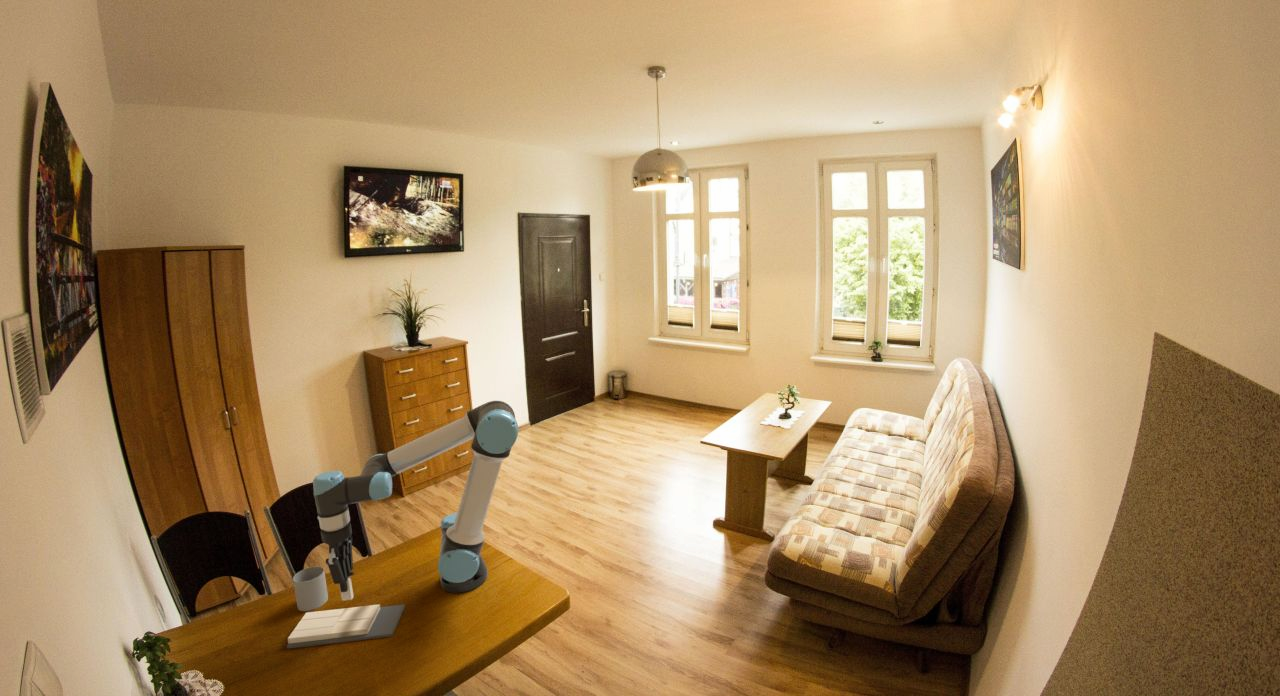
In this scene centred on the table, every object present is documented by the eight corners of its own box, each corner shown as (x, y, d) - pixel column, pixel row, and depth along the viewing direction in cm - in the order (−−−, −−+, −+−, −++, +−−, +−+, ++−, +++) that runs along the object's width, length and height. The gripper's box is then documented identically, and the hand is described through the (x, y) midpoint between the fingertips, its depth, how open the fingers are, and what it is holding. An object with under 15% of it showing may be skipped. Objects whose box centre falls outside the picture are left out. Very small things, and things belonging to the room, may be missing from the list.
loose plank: (380, 608, 161) (379, 603, 161) (367, 633, 151) (366, 628, 150) (345, 612, 160) (345, 608, 160) (330, 638, 149) (329, 633, 149)
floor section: (405, 606, 164) (404, 599, 163) (392, 636, 151) (391, 628, 150) (308, 617, 160) (307, 610, 159) (287, 648, 147) (285, 640, 146)
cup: (313, 612, 162) (309, 583, 160) (290, 609, 163) (286, 580, 162) (334, 595, 170) (330, 567, 168) (312, 592, 171) (308, 565, 170)
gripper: (331, 515, 155) (343, 586, 160) (310, 538, 143) (324, 615, 147) (357, 512, 156) (369, 583, 161) (340, 535, 144) (352, 611, 148)
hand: (347, 598), depth 154 cm, fingers closed
